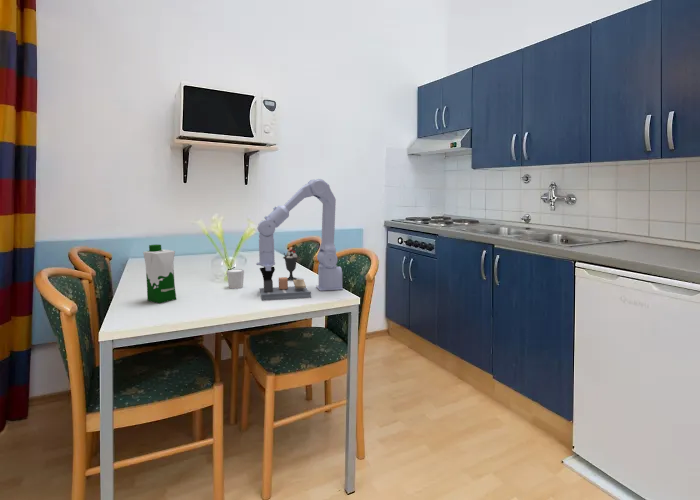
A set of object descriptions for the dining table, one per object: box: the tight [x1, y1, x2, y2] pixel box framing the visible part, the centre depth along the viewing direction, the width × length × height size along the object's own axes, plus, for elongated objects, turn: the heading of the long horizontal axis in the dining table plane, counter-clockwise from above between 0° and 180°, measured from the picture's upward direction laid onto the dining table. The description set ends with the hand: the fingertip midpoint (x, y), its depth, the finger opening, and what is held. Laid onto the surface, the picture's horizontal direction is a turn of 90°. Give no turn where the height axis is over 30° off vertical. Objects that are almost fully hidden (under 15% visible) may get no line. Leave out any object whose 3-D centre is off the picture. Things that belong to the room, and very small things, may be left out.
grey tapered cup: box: [226, 268, 245, 290], centre depth 177 cm, size 7×7×7 cm
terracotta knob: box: [278, 276, 289, 289], centre depth 169 cm, size 3×3×4 cm
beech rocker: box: [292, 278, 307, 288], centre depth 168 cm, size 4×6×1 cm, turn 15°
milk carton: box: [142, 244, 177, 304], centre depth 156 cm, size 9×9×20 cm
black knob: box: [263, 278, 274, 292], centre depth 165 cm, size 3×3×4 cm
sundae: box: [282, 245, 299, 281], centre depth 193 cm, size 7×7×15 cm
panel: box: [259, 285, 312, 302], centre depth 166 cm, size 18×15×3 cm
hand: (267, 285), depth 168 cm, fingers closed
